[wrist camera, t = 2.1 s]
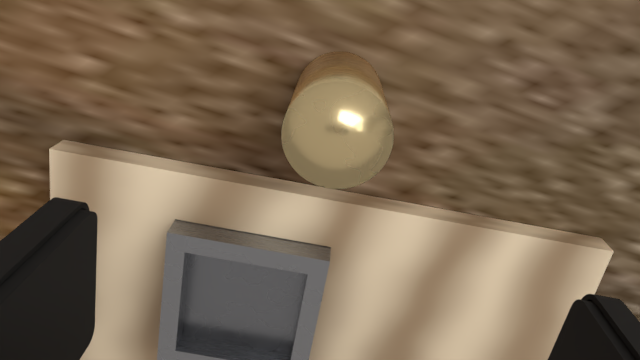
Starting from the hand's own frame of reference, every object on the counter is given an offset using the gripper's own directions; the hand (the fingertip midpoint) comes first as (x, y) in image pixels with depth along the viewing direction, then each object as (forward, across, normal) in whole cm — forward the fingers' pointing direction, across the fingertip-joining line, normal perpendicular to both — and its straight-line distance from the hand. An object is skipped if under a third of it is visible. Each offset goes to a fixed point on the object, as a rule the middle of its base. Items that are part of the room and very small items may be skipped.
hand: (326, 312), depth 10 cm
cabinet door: (+18, -1, +12) cm, 22 cm away
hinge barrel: (+18, 0, 0) cm, 18 cm away
